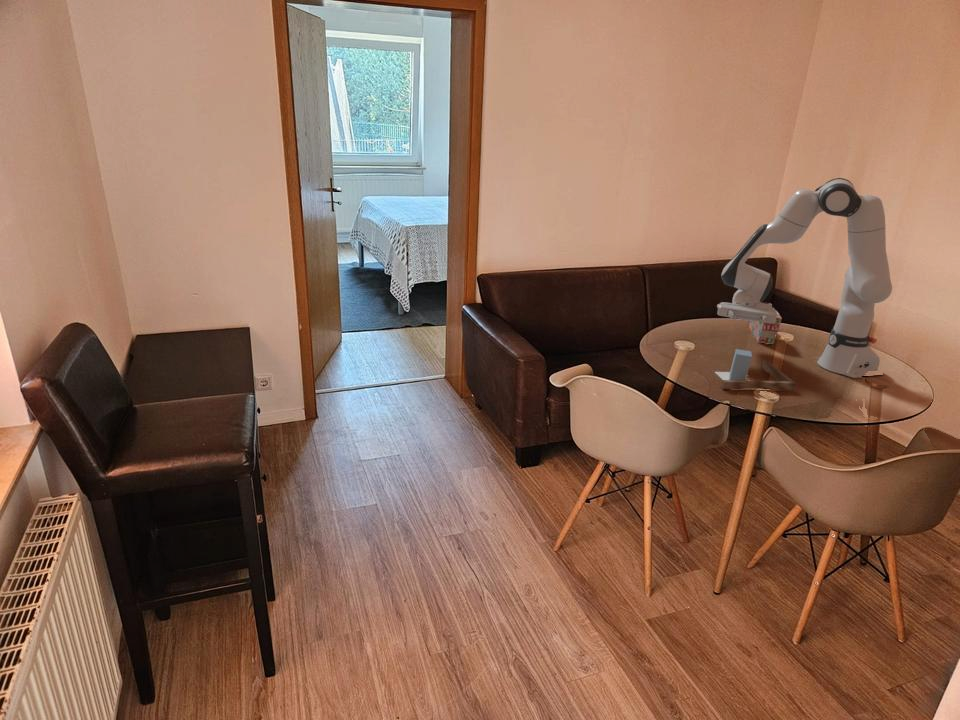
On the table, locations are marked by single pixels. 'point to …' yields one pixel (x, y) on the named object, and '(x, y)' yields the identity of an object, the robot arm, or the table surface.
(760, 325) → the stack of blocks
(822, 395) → the table surface
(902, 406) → the table surface
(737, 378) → the slate-blue block
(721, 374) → the felt pad
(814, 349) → the table surface
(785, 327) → the table surface
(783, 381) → the walnut fence
